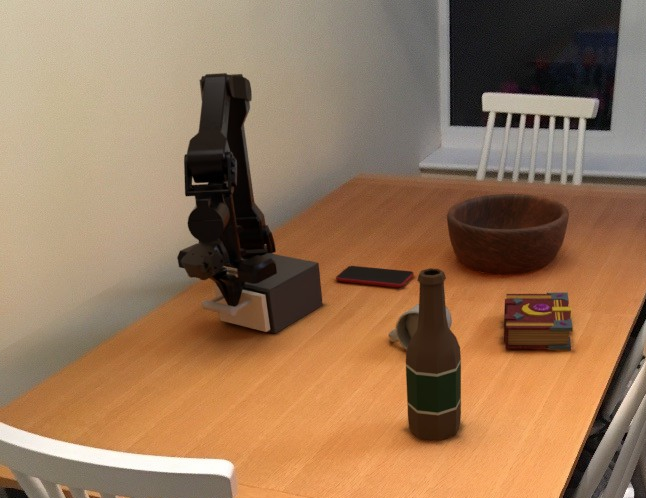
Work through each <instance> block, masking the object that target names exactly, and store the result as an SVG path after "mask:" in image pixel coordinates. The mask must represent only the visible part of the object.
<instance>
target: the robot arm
mask: <svg viewBox="0 0 646 498" xmlns="http://www.w3.org/2000/svg"><path fill="white" fill-rule="evenodd" d="M199 88H200V98H201V99H200V100H201V106H200V107H201V108H200V117H199V125H198V131H197V133H196V134H195V135H194V136H192V138H190V140H189V142H188V145H187V146H188V147H187V151H186V153H185V154H184V157H183V169H184V170H183V171H184V172H183V174H184V176H183V177H184V196H185V197H194V200H195V206H194V207H193V209H192V210H191V211H190V213H189V215H188V217H187V228H188V231H189V233H190V235H191V236H192V237H193V238H194V239H196V240H197V241H198V243H193V244H192V245H190V246H187V247H185V248H183V249H181V250H179V252H178V255H177V257H176V259H177V263H178V264H177V265H178V268H181V269H184V271H185V272H186V274H187V276H188V277H189V278H195V279H199V280H201V281H206V280H211V281H213V282H214V283H215V285H217V286H218V288H219V290H220V291H221V293H222V295H223V297H224V299H225V301H226V302H227V304H228V305H229V306H233V307H235V306H237V305H238V303H239V299H240V296H241V293H242V290H243V287H244V284H245V282H247V283H252V284H256V283H259V282H261V281H263V280H265V279H267V278H269V277H271V276H273V275H275V274H277V270H276V263H275V261H274V260H273V259H272V258H268V257H263V255H265V254H267V253H271V254H275V253H276V252H277V250H276V243H275V238H274V236H273V232H272V231H271V230H270V227H269V225H268V224H267V223H266V218H265V214H264V213H263V212H262V210H261V208H259V206H258V205H257V204H256V202H255V198H254V197H255V196H254V188H253V183H252V175H251V167H250V159H249V153H248V152H249V151H248V144H247V137H246V130H245V123H246V120H247V118H248V115H249V113H250V110H251V104H250V103H251V102H252V99H253V95H252V93H253V92H252V86H251V82H250V80H249V79H248V78H247V77H244V75H243V73H232V74H228V73H227V72H221V73H206V74H205V75H202V76H201V79H199ZM193 182H194V183H195V184H193Z"/></svg>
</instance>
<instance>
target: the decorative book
mask: <svg viewBox="0 0 646 498" xmlns="http://www.w3.org/2000/svg"><path fill="white" fill-rule="evenodd" d="M569 302H570V301H569V293H568V292H567V291H566V292H546V293H506V297H505V298H504V309H503V310H504V311H503V312H504V313H503V343H505V347H504V348H505V349H524V350H525V349H527V350H529V349H532V350H533V349H534V350H536V349H537V350H538V349H539V350H541V349H542V350H543V349H544V350H546V349H547V350H548V351H571V350H572V342H571V341H572V340H571V337H570V332H571V333H572V332H573V329H574V327H573V319H572V307H571V306H569V304H570V303H569Z"/></svg>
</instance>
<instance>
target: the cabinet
mask: <svg viewBox="0 0 646 498" xmlns="http://www.w3.org/2000/svg"><path fill="white" fill-rule="evenodd" d="M263 257H268V258H272V259H273V260H274V261H275V263H276V270H277V274H275V275H273V276H271V277H269V278H267V279H265V280H263V281H261V282H259V283H256V284H252V283H247V282H245V284H244V288H248V289H253V290H257V291H262V292H266V293H267V300H268V307H269V314H270V321H271V324H270V330H269V331H267V332H268V333H271V334H277V333H279V332H281V331H282V330H284V329H286V328H287V327H289V326H290V325H292V324H294V323H296V322H297V321H299V320H300V319H302V318H304V317H305V316H307V315H309V314H310V313H312V312H314V311H315V310H317V309H319V308H320V307H322V306H324V304H323V293H322V284H321V272H320V263H319V262H317V261H311V260H306V259H301V258H296V257H291V256H286V255H282V254H281V255H280V254H276V253H272V254H271V253H267V254H265V255H263ZM267 332H266V333H267Z"/></svg>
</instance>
